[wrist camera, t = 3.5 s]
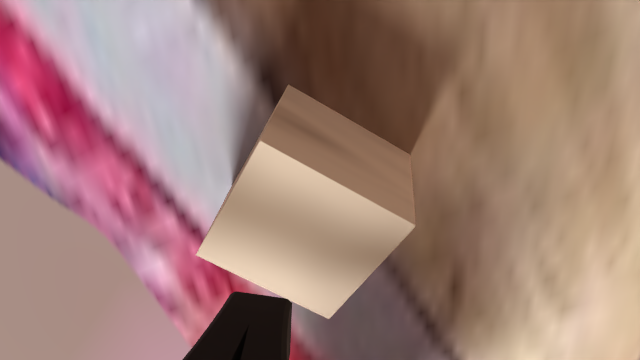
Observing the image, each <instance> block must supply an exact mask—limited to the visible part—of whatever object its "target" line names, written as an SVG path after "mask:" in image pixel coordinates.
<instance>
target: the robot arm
mask: <svg viewBox="0 0 640 360" xmlns="http://www.w3.org/2000/svg"><path fill="white" fill-rule="evenodd" d="M291 313H292V303H291V302H290V301H289V300H288V299H285V298H278V297H271V296H264V295H257V294H250V293H242V292H234V293H232V294H231V295H230V296H229V298H228V299H227V301H226V302H225V304H224V305H223V307H222V308H221V310H220V311H219V313H218V314H217V315H216V317H215V318H214V320H213V321H212V322H211V324H210V325H209V327H208V328H207V329H206V331H205V332H204V333H203V335H202V336H201V337H200V339H199V340H198V341H197V342H196V344H195V345H194V346H193V348H192V349H191V350H190V351H189V352H188V354H187V355H186V356H185V357H184V359H183V360H289V355H290V339H291Z"/></svg>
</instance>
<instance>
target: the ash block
mask: <svg viewBox="0 0 640 360" xmlns="http://www.w3.org/2000/svg"><path fill="white" fill-rule="evenodd" d="M415 226H416V218H415V206H414V194H413V181H412V169H411V157H410V154H408V153H407V152H405V151H403V150H401V149H400V148H398V147H396V146H394V145H393V144H391V143H389V142H388V141H386V140H384V139H382V138H381V137H379V136H377V135H375V134H374V133H372V132H370V131H368V130H367V129H365V128H363V127H362V126H360V125H358V124H356V123H355V122H353V121H351V120H349V119H348V118H346V117H344V116H342V115H341V114H339V113H337V112H336V111H334V110H332V109H330V108H329V107H327V106H325V105H323V104H322V103H320V102H318V101H316V100H315V99H313V98H311V97H310V96H308V95H306V94H304V93H303V92H301V91H299V90H297V89H296V88H294V87H292V86H290V85H289V84H288V86H287V87H286V89H285V91H284V93H283V95H282V97H281V98H280V100H279V102H278V104H277V106H276V107H275V109H274V111H273V113H272V115H271V116H270V118H269V120H268V122H267V124H266V125H265V127H264V129H263V131H262V133H261V134H260V136H259V138H258V140H257V142H256V143H255V145H254V147H253V149H252V151H251V152H250V154H249V156H248V158H247V160H246V161H245V163H244V165H243V167H242V169H241V170H240V172H239V174H238V176H237V178H236V179H235V181H234V183H233V185H232V187H231V189H230V191H229V193H228V194H227V196H226V198H225V200H224V202H223V204H222V206H221V208H220V210H219V212H218V214H217V216H216V217H215V219H214V221H213V223H212V225H211V227H210V229H209V231H208V233H207V235H206V237H205V239H204V241H203V242H202V244H201V246H200V248H199V250H198V252H197V254H196V255H197V256H199V257H201V258H203V259H205V260H207V261H209V262H211V263H213V264H215V265H217V266H220V267H222V268H224V269H226V270H228V271H230V272H232V273H234V274H236V275H238V276H240V277H242V278H244V279H246V280H249V281H251V282H253V283H255V284H257V285H259V286H261V287H263V288H265V289H267V290H269V291H271V292H273V293H276V294H278V295H280V296H282V297H284V298H286V299H288V300H290V301H292V302H294V303H296V304H298V305H300V306H303V307H305V308H307V309H309V310H311V311H313V312H315V313H317V314H319V315H321V316H323V317H325V318H327V319H330V318H331V316H332V315H333V314H334V313H335V312H336V311H337V310H338V309H339V308H340V307H341V306H342V305H343V304H344V303H345V301H346V300H347V299H348V298H349V297H350V296H351V295H352V294H353V293H354V292H355V291H356V290H357V289H358V288H359V286H360V285H361V284H362V283H363V282H364V281H365V280H366V279H367V278H368V277H369V276H370V275H371V274H372V273H373V271H374V270H375V269H376V268H377V267H378V266H379V265H380V264H381V263H382V262H383V261H384V260H385V259H386V258H387V256H388V255H389V254H390V253H391V252H392V251H393V250H394V249H395V248H396V247H397V246H398V245H399V244H400V243H401V241H402V240H403V239H404V238H405V237H406V236H407V235H408V234H409V233H410V232H411V231H412V230H413V229H414V228H415Z"/></svg>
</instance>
